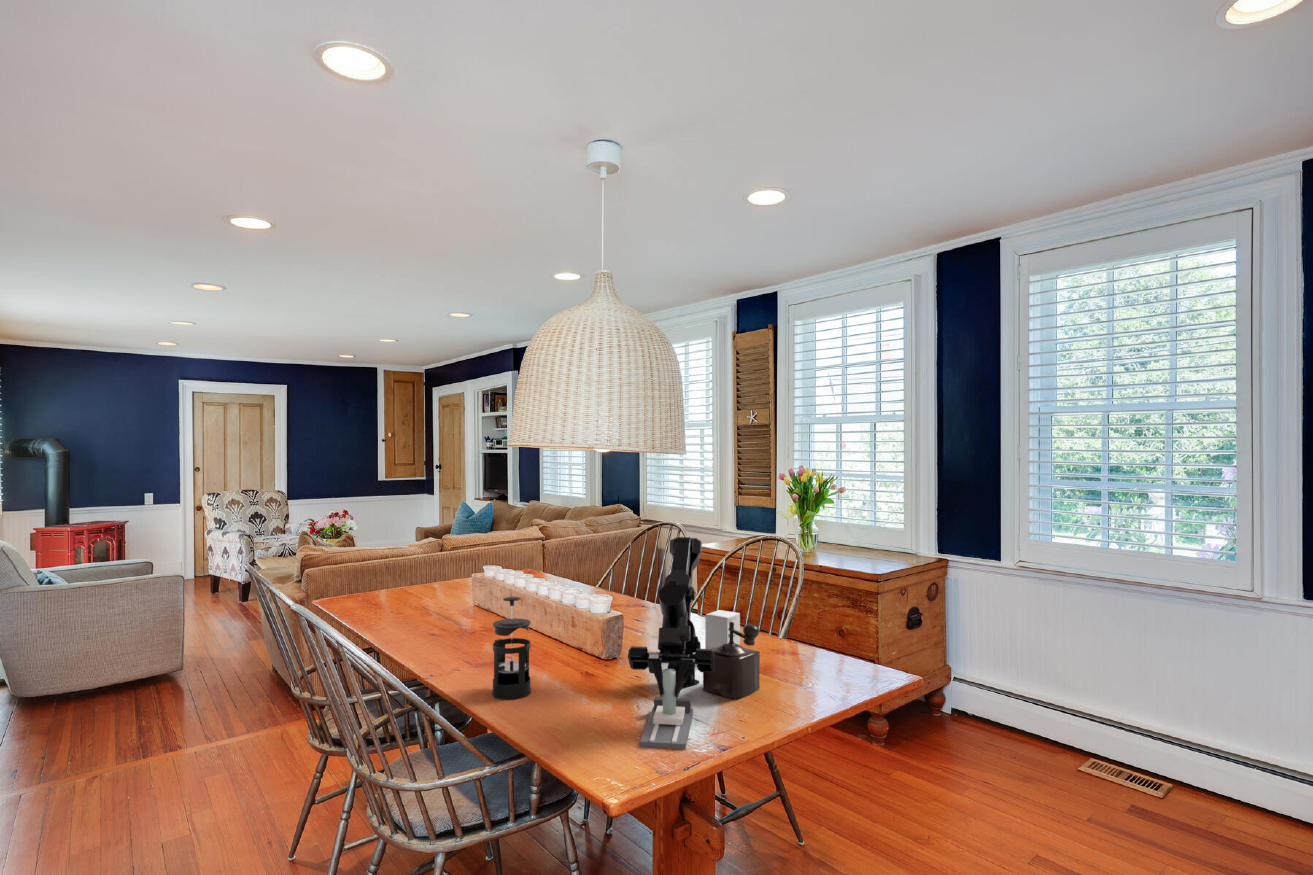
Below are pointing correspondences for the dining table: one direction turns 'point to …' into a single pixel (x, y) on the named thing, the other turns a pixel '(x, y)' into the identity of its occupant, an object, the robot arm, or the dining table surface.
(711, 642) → the supplement box
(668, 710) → the carriage
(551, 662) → the dining table surface
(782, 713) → the dining table surface
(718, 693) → the manual coffee grinder
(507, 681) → the french press
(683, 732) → the rail track
